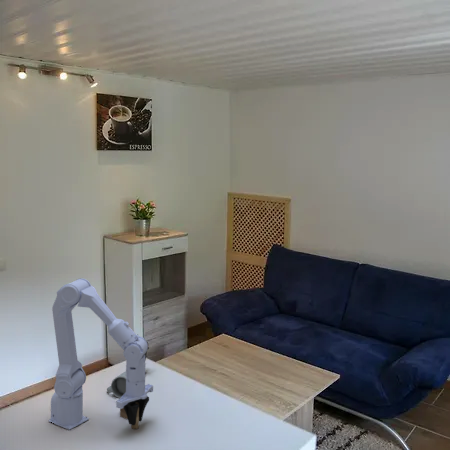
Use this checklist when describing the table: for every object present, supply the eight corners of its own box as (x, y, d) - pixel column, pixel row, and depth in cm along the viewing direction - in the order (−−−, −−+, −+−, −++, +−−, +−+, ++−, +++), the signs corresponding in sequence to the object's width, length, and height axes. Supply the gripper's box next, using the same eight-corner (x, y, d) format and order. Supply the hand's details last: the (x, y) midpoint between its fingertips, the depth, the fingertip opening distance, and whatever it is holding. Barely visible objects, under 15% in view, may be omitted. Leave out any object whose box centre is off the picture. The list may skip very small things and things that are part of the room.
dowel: (129, 428, 146) (130, 404, 145) (134, 425, 148) (134, 401, 147) (135, 430, 145) (135, 406, 144) (140, 427, 147) (140, 403, 146)
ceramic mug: (140, 390, 173) (140, 369, 172) (131, 399, 165) (130, 378, 164) (112, 387, 175) (112, 366, 175) (102, 396, 167) (102, 375, 167)
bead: (115, 415, 154) (115, 404, 153) (129, 407, 159) (129, 397, 159) (131, 420, 150) (131, 409, 150) (145, 412, 156) (145, 402, 156)
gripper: (129, 390, 137) (129, 436, 138) (161, 373, 149) (160, 416, 150) (111, 384, 140) (110, 429, 141) (143, 368, 153) (142, 410, 154)
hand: (135, 422), depth 146 cm, fingers closed on dowel, 2 cm apart
